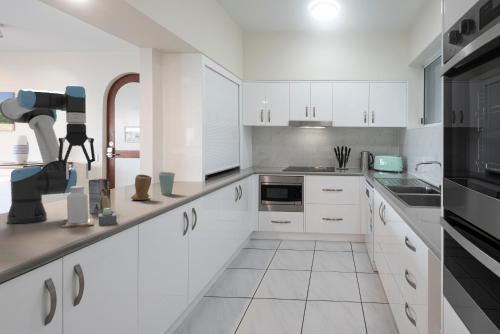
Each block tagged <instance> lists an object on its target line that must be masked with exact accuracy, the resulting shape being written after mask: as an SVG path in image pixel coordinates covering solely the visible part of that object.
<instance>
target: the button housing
mask: <svg viewBox="0 0 500 334" xmlns="http://www.w3.org/2000/svg"><path fill="white" fill-rule="evenodd" d="M116 224H117V213H116V212H111V215H106V216H103V213H98V225H99V226H100V225H101V226H102V225H103V226H104V225H116Z"/></svg>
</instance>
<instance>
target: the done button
mask: <svg viewBox="0 0 500 334" xmlns="http://www.w3.org/2000/svg"><path fill="white" fill-rule="evenodd" d="M111 213H112V208H105V209H103V216H106V215H111Z"/></svg>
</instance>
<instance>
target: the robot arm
mask: <svg viewBox="0 0 500 334" xmlns="http://www.w3.org/2000/svg"><path fill="white" fill-rule="evenodd" d="M86 96H87V95H86V88H85V87H84V86H82V85H67V86H66V87H65V92H60V91H49V90H48V91H47V90H38V89H30V88H29V89H27V88H26V89H25V88H24V89H23V88H22V89H19V90H18V92H17V95H16V97H11V98H6V99H4V100H3V101H2V102H1V103H0V114H1V115H2V117H4V118H5V119H6V120H8V121H10V122H11V123H12V122H13V123H19V124H28V126H29V128H30V129H31V130H32V131H33V133H34V135H35V139H36V142H37V145H38V149H39V152H40V156H41V159H42V163H43V166H42V167H41V166H40V165H35V166H34V165H33V166H26V167H19V168H16V169H13V170H12V171H11V173H10V180H9V181H10V195H11V196H10V197H11V201H10V202H11V205H10V207H9V211H8V214H7V216H6V221H7V223H9V224H31V223H38V222H43V221H46V220H47V219H48V215H47V212H46V211H47V210H46V209H45V206H44V204H43V196H47V195H48V196H49V195H58V194H59V195H61V194H70V193H71V192H70V187H72V186H77V183H78V173H77V169H76V168H75V167H70V163H69V162H68V159H69V156H70V154H71V151H72V148H73V147H76V146H77V147H81V149H82V152H83V154H84V157H85V159H86V163H85V178H86V180H88V179H89V171H91V170H92V163H93V162H95V161H96V156H95V148H94V142H95V138H93V137H89V136H88V135H87V125H86V123H87V111H86V109H87V108H86V107H87V106H86V105H87V104H86V103H87V102H86V100H87V99H86V98H87V97H86ZM57 111H61V112H65V116H66V118H65V119H66V120H65V121H66V123H67V124H66V127H65V128H66V134H65V136H64V137H59V138H58V139H57V136H56V132H55V130H54V125H55V123H56V121H57V117H58V115H57ZM65 141H67V142H68V144H69V145H68V147H67V149H66V150H67V151H66V153H65V155H64V157H63V150H64V143H65ZM87 141H88V143H89V146H90V153H91V159H90V155H89V154H88V151H87V148H86V145H85V143H86V142H87Z"/></svg>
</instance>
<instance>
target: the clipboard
mask: <svg viewBox="0 0 500 334" xmlns="http://www.w3.org/2000/svg"><path fill="white" fill-rule="evenodd" d="M94 222H95V218H93V217H92V218H88V221H87V222H84V223H77V224H73V223H68V219H65V220H64V219H63V222H62V224H61V229H65V228H67V229H69V228H80V227H81V228H83V227H94V225H95V223H94Z"/></svg>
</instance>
